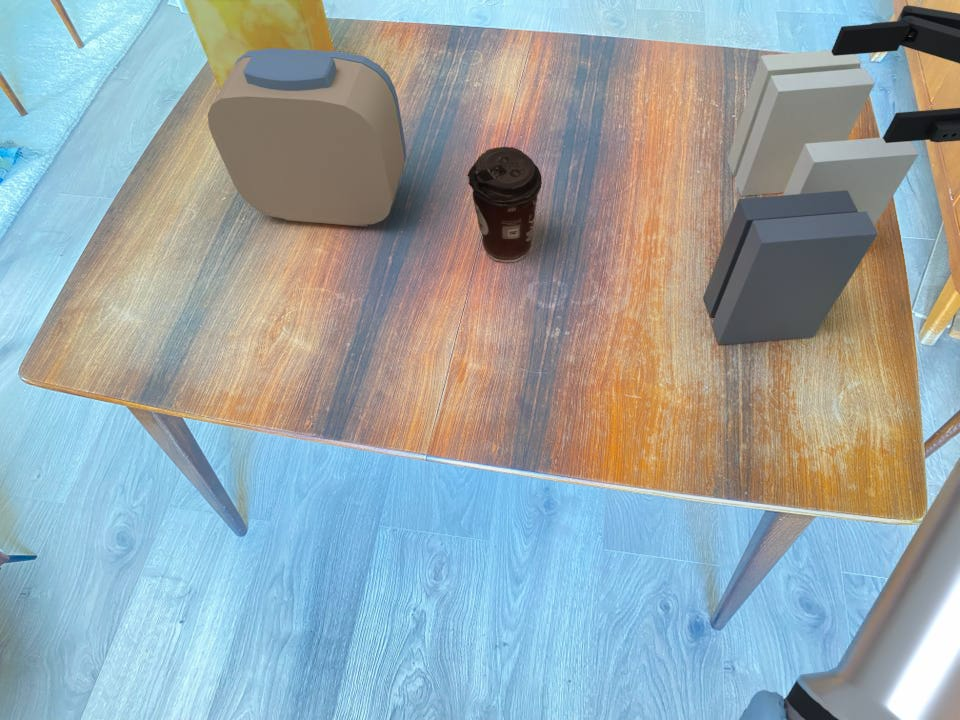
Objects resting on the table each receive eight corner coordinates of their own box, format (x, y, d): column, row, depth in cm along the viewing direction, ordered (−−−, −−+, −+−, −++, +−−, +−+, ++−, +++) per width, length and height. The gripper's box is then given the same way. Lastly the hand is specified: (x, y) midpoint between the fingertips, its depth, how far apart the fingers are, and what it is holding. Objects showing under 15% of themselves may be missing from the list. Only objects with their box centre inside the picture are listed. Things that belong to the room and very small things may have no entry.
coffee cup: (467, 265, 87) (459, 188, 76) (478, 218, 91) (472, 138, 81) (535, 272, 86) (537, 194, 75) (543, 224, 90) (546, 144, 80)
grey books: (813, 337, 79) (878, 233, 64) (717, 345, 79) (761, 243, 64) (794, 290, 83) (851, 182, 68) (703, 297, 83) (741, 191, 68)
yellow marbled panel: (350, 59, 113) (314, -104, 93) (327, 106, 106) (283, -58, 86) (251, 51, 115) (195, -108, 95) (222, 97, 109) (156, -64, 89)
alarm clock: (413, 184, 96) (389, 39, 78) (399, 235, 90) (369, 91, 72) (273, 175, 98) (218, 31, 80) (251, 223, 93) (187, 81, 75)
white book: (856, 256, 85) (919, 153, 72) (767, 264, 85) (814, 162, 72) (847, 239, 87) (907, 135, 73) (760, 246, 87) (804, 143, 73)
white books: (822, 189, 91) (874, 83, 78) (740, 196, 92) (778, 91, 78) (805, 154, 95) (852, 47, 82) (726, 161, 95) (760, 55, 82)
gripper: (1132, 184, 62) (896, 203, 62) (998, 28, 75) (806, 43, 76) (1201, 114, 55) (939, 134, 55) (1041, -43, 69) (832, -26, 69)
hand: (862, 82), depth 65 cm, fingers open, 13 cm apart
